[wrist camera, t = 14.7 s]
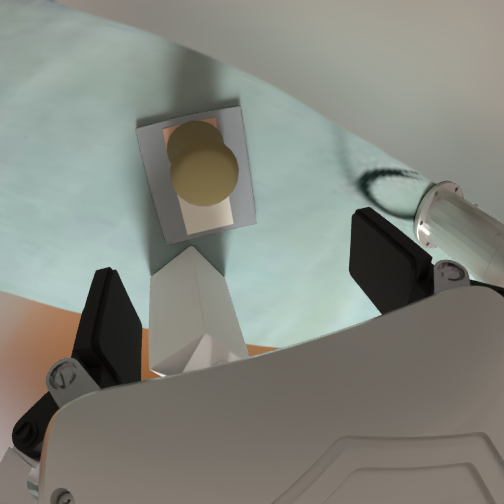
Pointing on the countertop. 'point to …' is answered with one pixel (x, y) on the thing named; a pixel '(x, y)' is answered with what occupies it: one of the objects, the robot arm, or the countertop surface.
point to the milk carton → (191, 317)
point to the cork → (201, 164)
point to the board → (178, 210)
